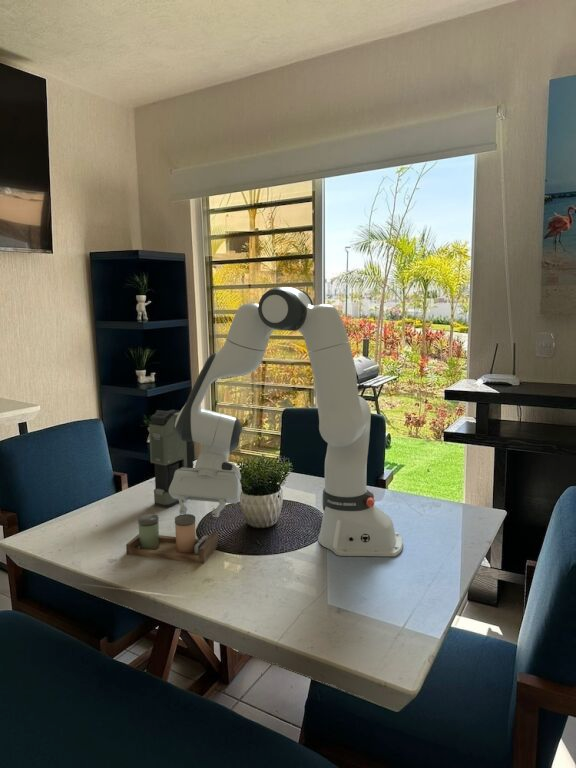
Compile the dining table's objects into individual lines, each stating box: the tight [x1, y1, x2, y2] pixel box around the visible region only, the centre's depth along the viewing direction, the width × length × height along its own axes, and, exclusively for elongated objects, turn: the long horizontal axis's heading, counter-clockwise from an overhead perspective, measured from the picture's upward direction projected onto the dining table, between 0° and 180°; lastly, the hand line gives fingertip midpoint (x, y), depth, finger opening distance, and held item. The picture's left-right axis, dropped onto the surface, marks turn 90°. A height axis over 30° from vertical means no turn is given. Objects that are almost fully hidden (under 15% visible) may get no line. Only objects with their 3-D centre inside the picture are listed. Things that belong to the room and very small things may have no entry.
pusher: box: [194, 535, 209, 555], centre depth 139 cm, size 2×6×3 cm, turn 167°
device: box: [148, 409, 194, 509], centre depth 175 cm, size 14×8×30 cm, turn 150°
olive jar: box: [137, 514, 160, 550], centre depth 142 cm, size 5×5×8 cm
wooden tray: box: [125, 531, 219, 564], centre depth 141 cm, size 21×10×4 cm, turn 77°
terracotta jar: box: [174, 513, 197, 554], centre depth 139 cm, size 5×5×9 cm
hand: (198, 514), depth 148 cm, fingers open, 8 cm apart
